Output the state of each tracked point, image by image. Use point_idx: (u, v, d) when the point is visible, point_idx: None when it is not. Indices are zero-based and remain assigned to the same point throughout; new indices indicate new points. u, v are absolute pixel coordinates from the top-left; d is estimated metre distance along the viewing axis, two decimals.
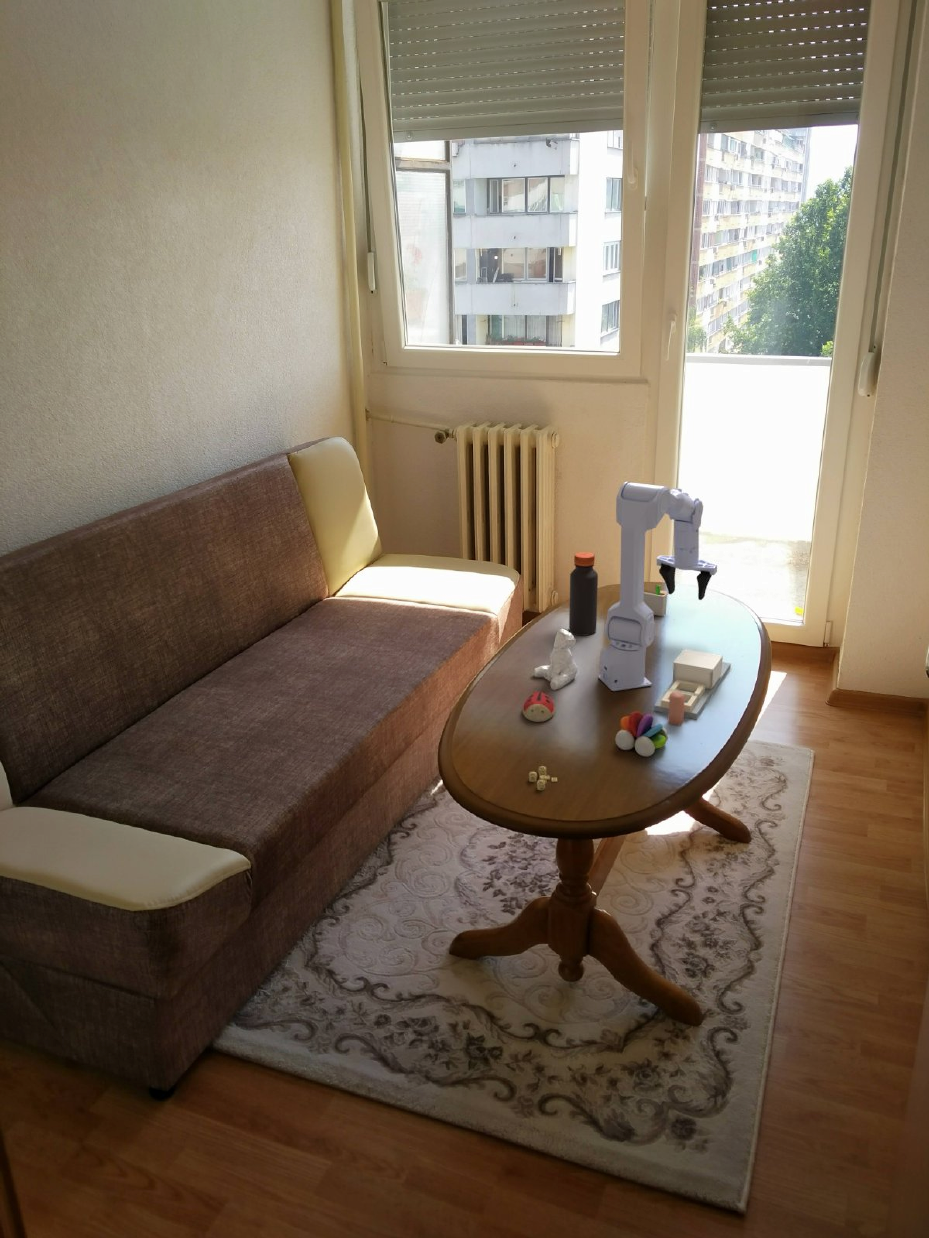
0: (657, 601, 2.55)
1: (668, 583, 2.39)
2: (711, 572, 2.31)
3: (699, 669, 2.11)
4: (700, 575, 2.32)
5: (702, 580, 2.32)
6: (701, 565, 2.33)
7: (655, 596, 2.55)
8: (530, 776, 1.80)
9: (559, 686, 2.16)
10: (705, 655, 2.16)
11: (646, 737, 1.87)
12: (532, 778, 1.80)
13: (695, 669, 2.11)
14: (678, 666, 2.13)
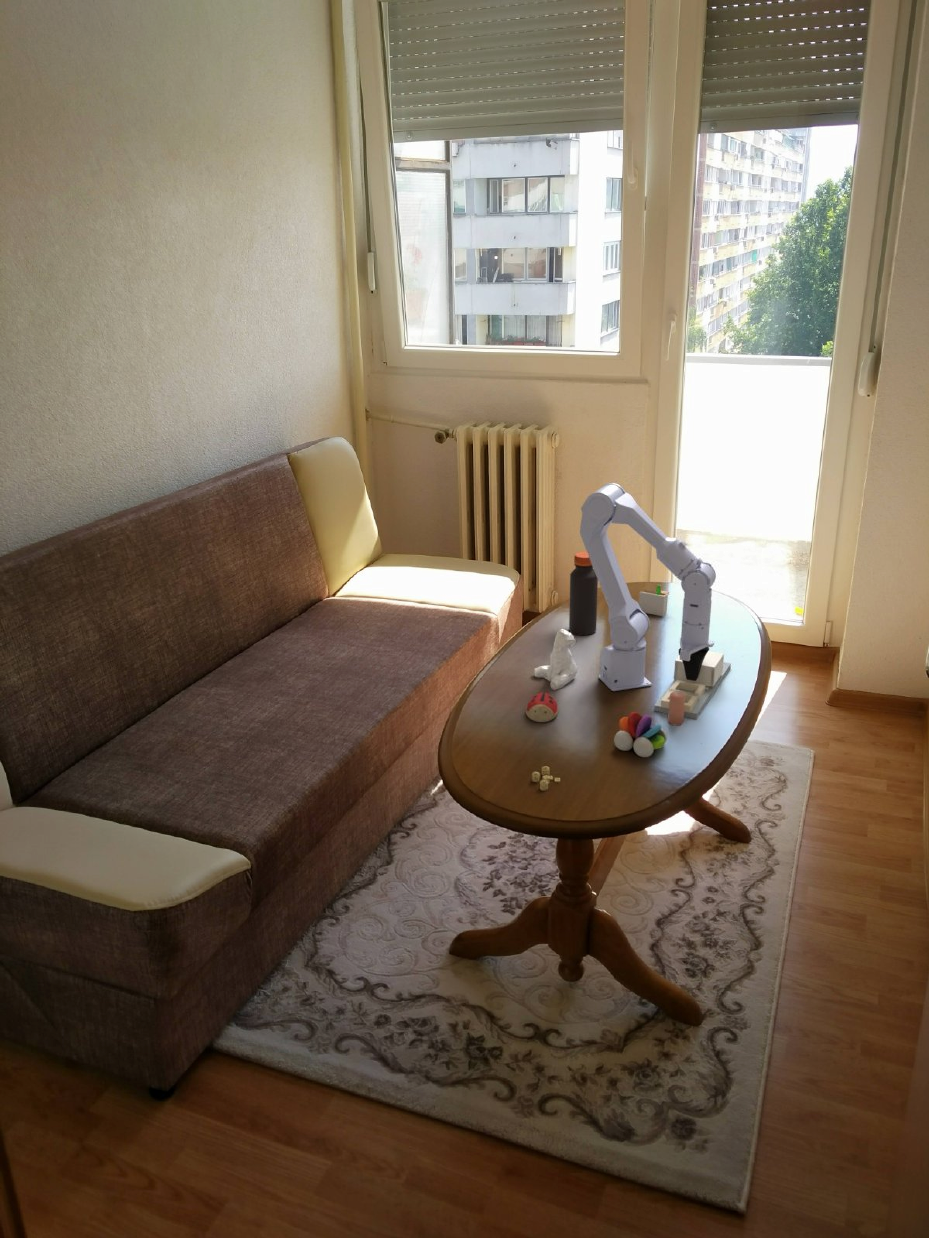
0: (658, 601, 2.55)
1: None
2: None
3: None
4: None
5: None
6: (688, 647, 2.06)
7: (656, 596, 2.55)
8: (533, 776, 1.80)
9: (559, 686, 2.16)
10: None
11: (645, 738, 1.87)
12: (535, 778, 1.80)
13: None
14: (680, 664, 2.14)
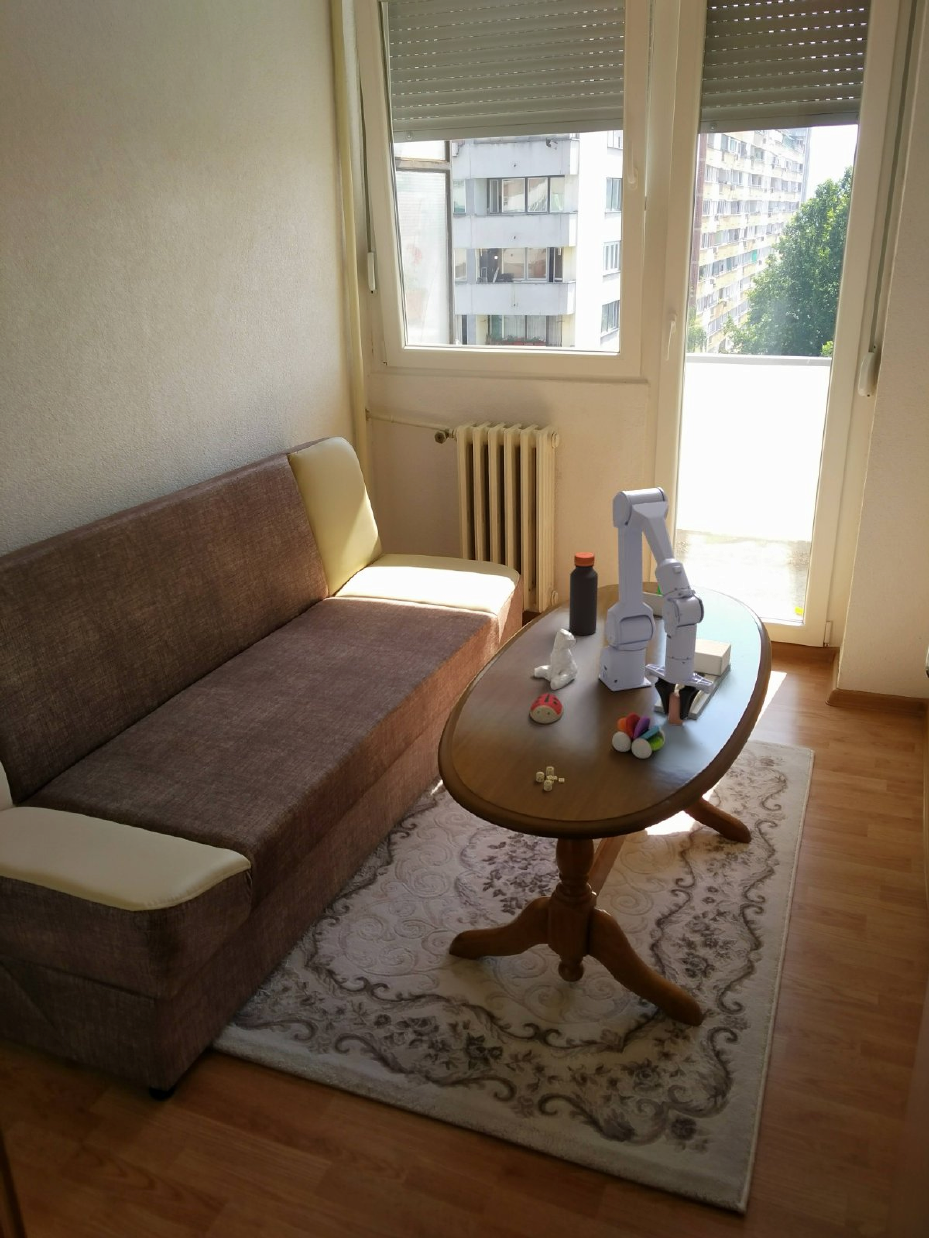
0: (659, 601, 2.55)
1: (664, 701, 1.99)
2: (705, 690, 1.93)
3: (708, 656, 2.17)
4: (683, 689, 1.95)
5: (685, 695, 1.94)
6: (695, 681, 1.94)
7: (657, 596, 2.55)
8: (537, 776, 1.80)
9: (559, 686, 2.16)
10: (714, 643, 2.22)
11: (643, 739, 1.86)
12: (539, 778, 1.80)
13: (705, 656, 2.17)
14: None
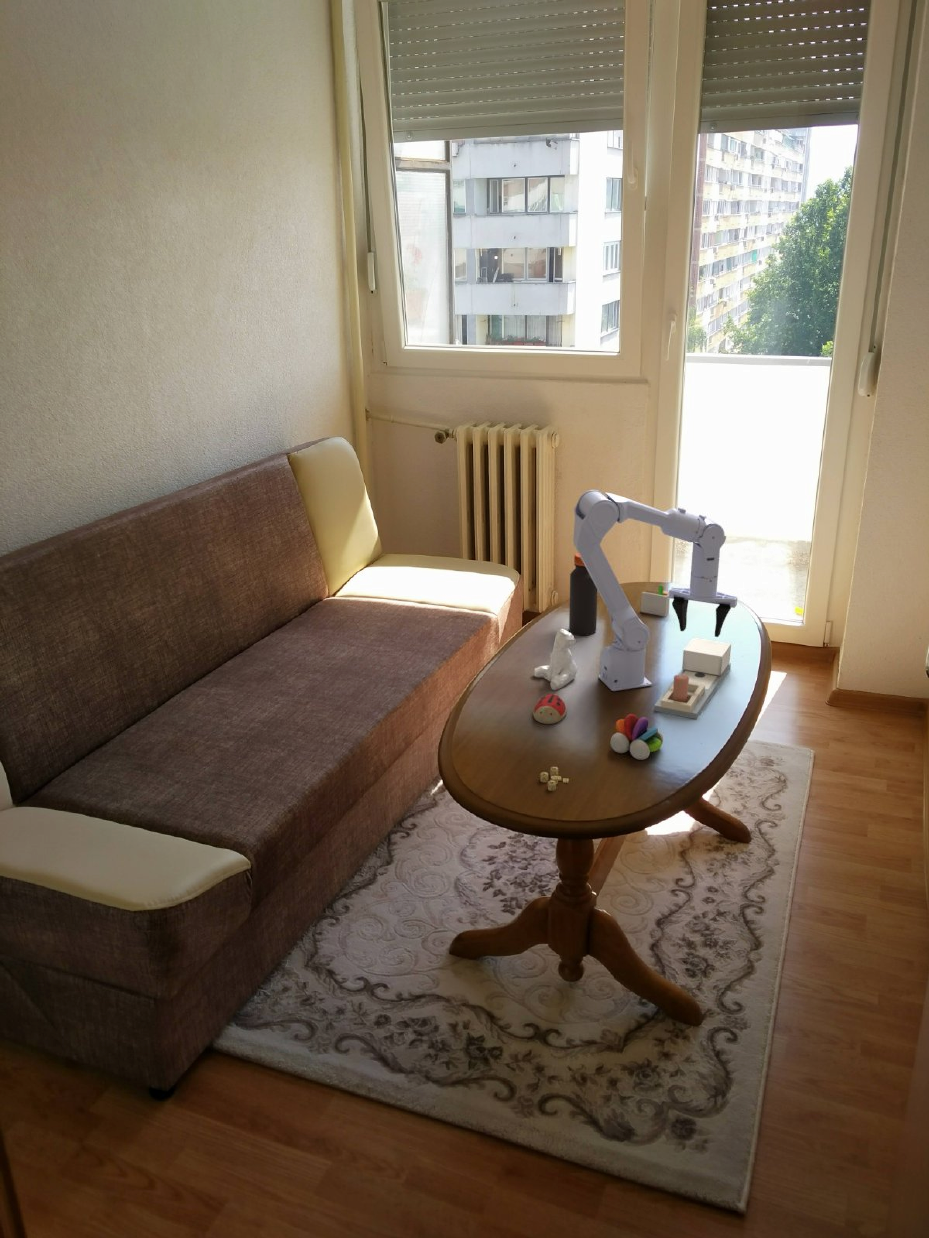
0: (660, 601, 2.55)
1: (681, 618, 2.17)
2: (732, 604, 2.11)
3: (708, 656, 2.17)
4: (719, 607, 2.12)
5: (722, 612, 2.11)
6: (720, 597, 2.12)
7: (658, 596, 2.55)
8: (541, 776, 1.80)
9: (559, 686, 2.16)
10: (714, 643, 2.22)
11: (641, 740, 1.86)
12: (543, 778, 1.80)
13: (705, 656, 2.17)
14: (688, 654, 2.19)
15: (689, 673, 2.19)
